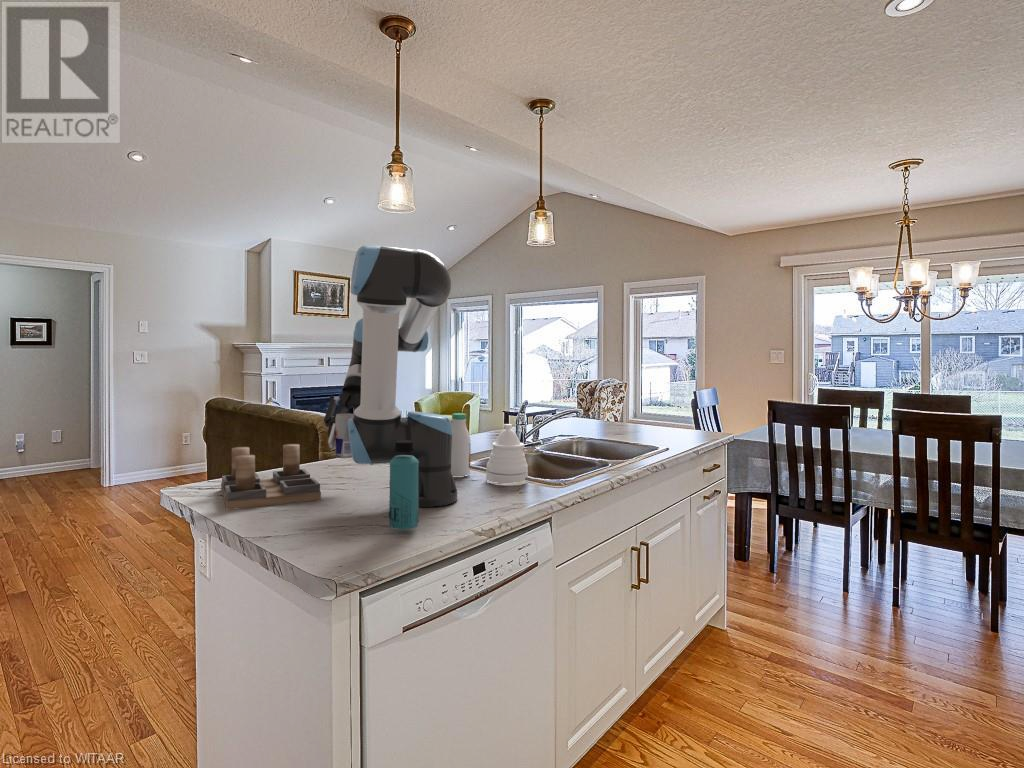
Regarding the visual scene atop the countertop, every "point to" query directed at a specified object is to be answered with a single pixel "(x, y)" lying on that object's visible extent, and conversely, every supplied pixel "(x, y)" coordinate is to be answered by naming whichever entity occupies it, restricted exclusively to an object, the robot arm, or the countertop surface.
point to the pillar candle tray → (267, 481)
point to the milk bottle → (460, 446)
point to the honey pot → (507, 458)
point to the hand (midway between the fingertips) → (341, 445)
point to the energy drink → (342, 436)
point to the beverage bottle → (404, 488)
